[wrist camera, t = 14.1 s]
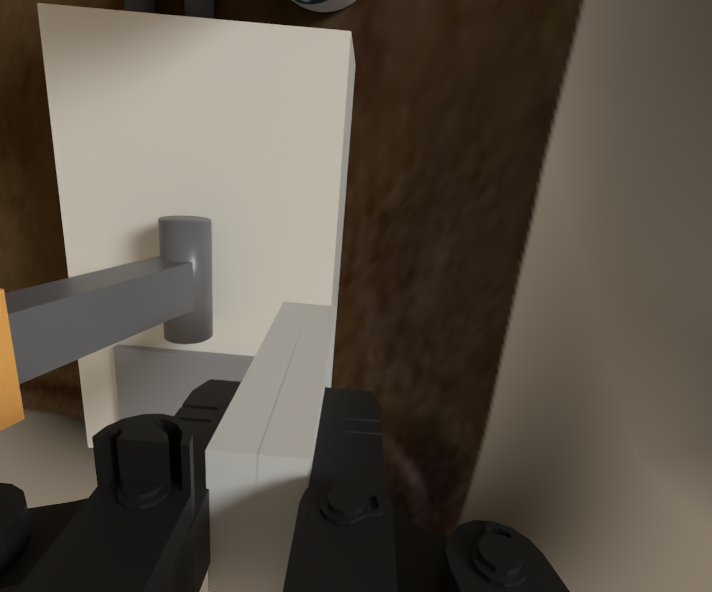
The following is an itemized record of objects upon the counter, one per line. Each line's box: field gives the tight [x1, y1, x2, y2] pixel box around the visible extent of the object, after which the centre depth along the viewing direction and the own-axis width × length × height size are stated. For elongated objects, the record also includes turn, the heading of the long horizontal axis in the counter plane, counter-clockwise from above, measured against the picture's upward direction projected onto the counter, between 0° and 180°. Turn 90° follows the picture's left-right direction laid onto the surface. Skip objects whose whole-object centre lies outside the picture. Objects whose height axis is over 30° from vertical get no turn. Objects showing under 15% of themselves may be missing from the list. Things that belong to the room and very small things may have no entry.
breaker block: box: [37, 3, 355, 448], centre depth 23 cm, size 20×12×7 cm, turn 175°
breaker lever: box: [0, 216, 213, 431], centre depth 15 cm, size 5×2×11 cm, turn 175°
